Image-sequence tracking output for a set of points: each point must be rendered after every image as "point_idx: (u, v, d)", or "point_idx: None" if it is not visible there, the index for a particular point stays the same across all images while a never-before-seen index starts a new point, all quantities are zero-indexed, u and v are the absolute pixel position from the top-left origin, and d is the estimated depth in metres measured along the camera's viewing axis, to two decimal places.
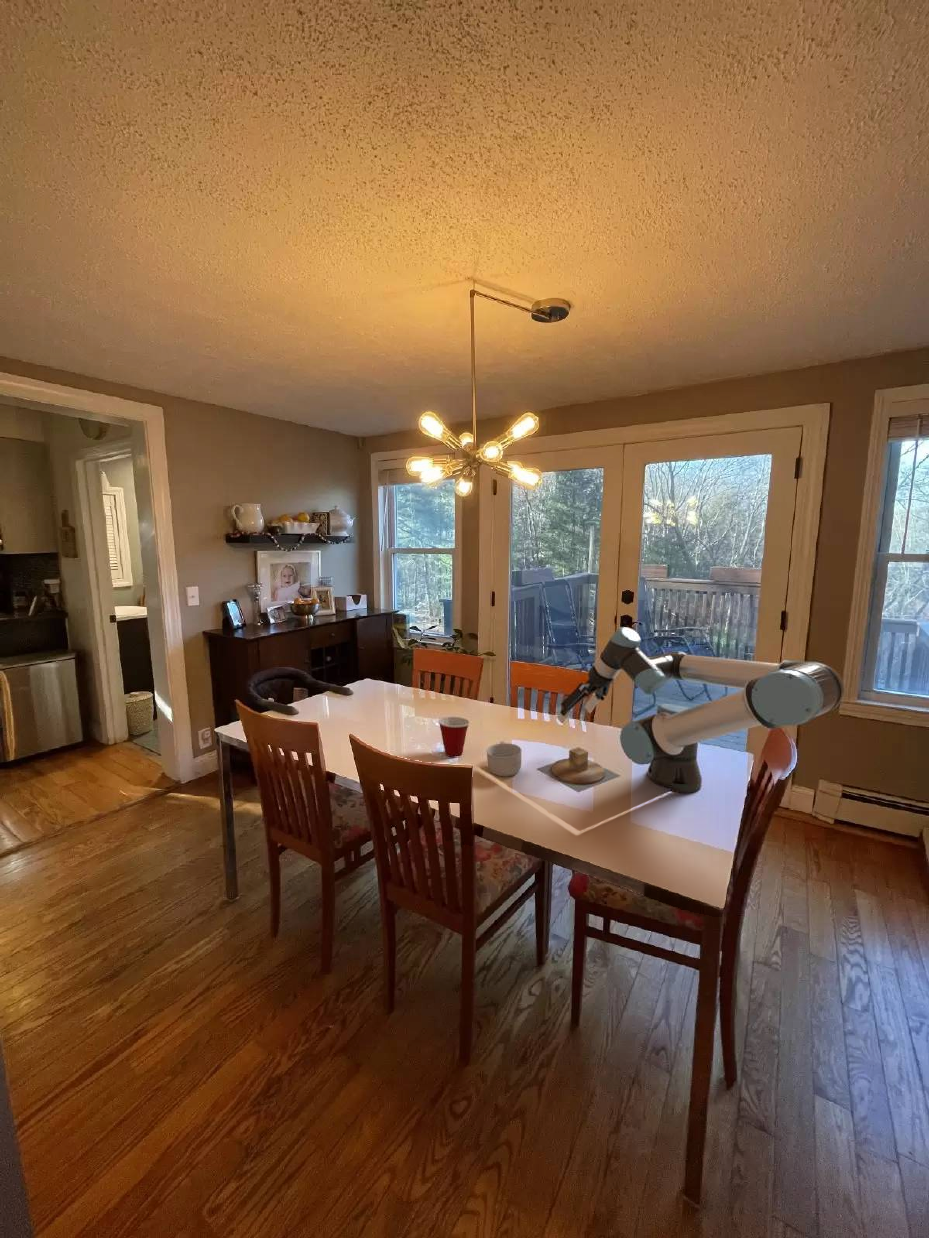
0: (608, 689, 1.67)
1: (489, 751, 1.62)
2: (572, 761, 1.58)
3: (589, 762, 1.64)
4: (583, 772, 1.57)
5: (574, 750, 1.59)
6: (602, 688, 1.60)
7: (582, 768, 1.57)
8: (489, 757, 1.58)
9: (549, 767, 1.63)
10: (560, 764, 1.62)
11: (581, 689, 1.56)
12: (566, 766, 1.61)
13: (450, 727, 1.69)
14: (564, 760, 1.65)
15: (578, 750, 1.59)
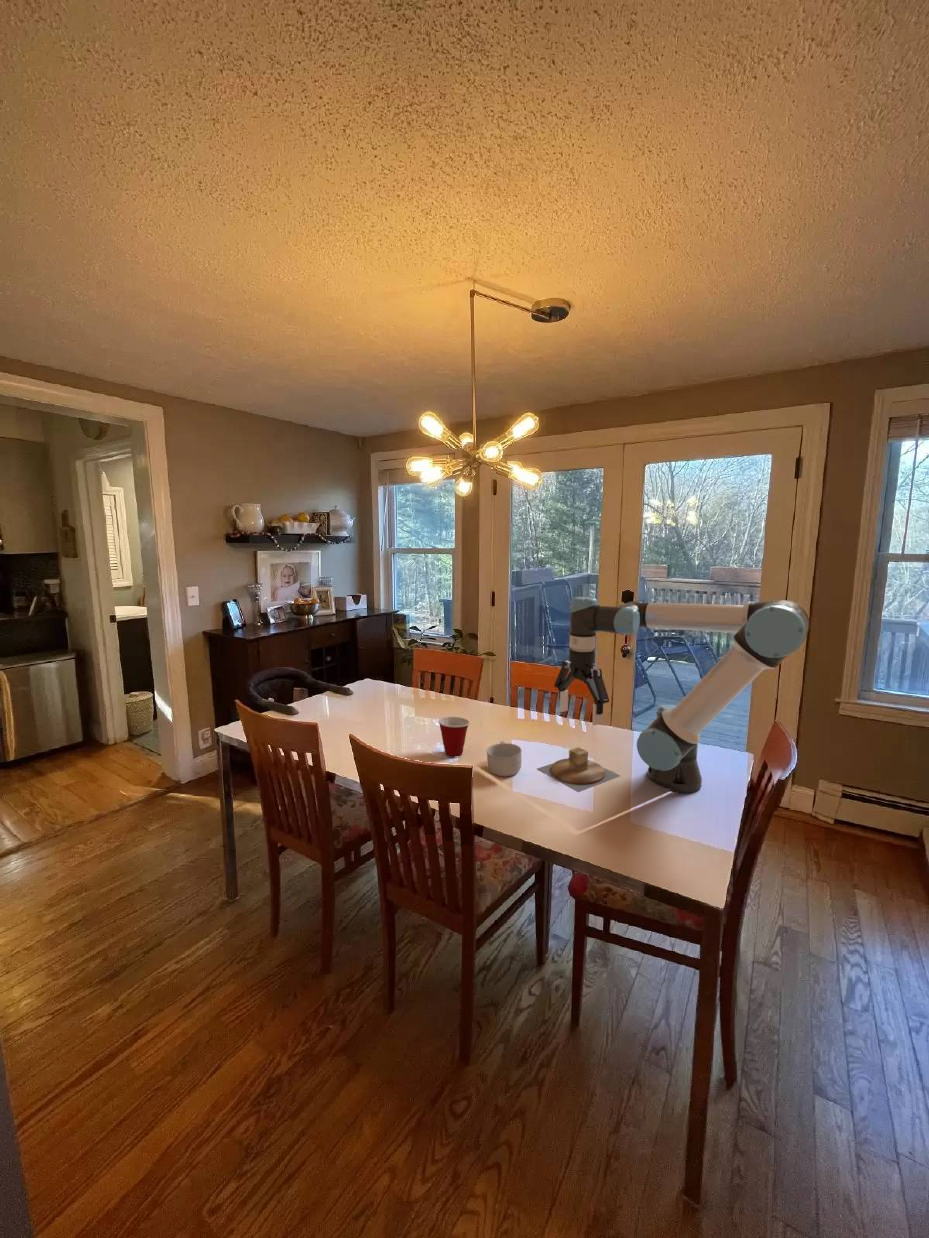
0: None
1: (489, 751, 1.62)
2: (572, 761, 1.58)
3: (589, 762, 1.64)
4: (583, 772, 1.57)
5: (574, 750, 1.59)
6: None
7: (582, 768, 1.57)
8: (489, 757, 1.58)
9: (549, 767, 1.63)
10: (560, 764, 1.62)
11: (599, 673, 1.49)
12: (566, 766, 1.61)
13: (450, 727, 1.69)
14: (564, 760, 1.65)
15: (578, 750, 1.59)
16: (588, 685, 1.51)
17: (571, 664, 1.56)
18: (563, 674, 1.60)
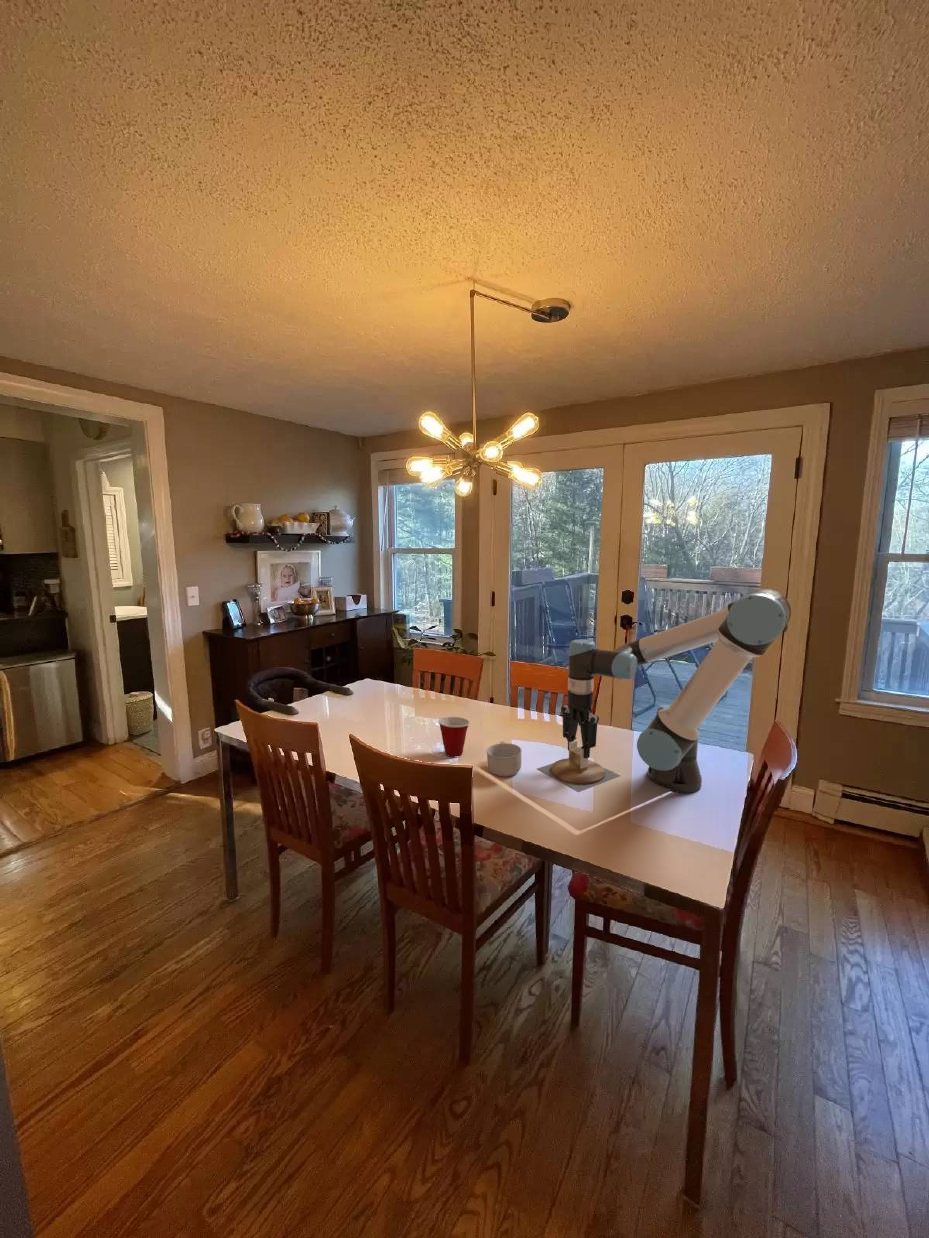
0: None
1: (489, 751, 1.62)
2: (572, 761, 1.58)
3: (589, 762, 1.64)
4: (583, 772, 1.57)
5: (574, 750, 1.59)
6: None
7: (582, 768, 1.57)
8: (489, 757, 1.58)
9: (549, 767, 1.63)
10: (560, 764, 1.62)
11: (596, 721, 1.52)
12: (566, 766, 1.61)
13: (450, 727, 1.69)
14: (564, 760, 1.65)
15: (578, 750, 1.59)
16: (581, 728, 1.55)
17: (569, 705, 1.58)
18: (567, 720, 1.60)
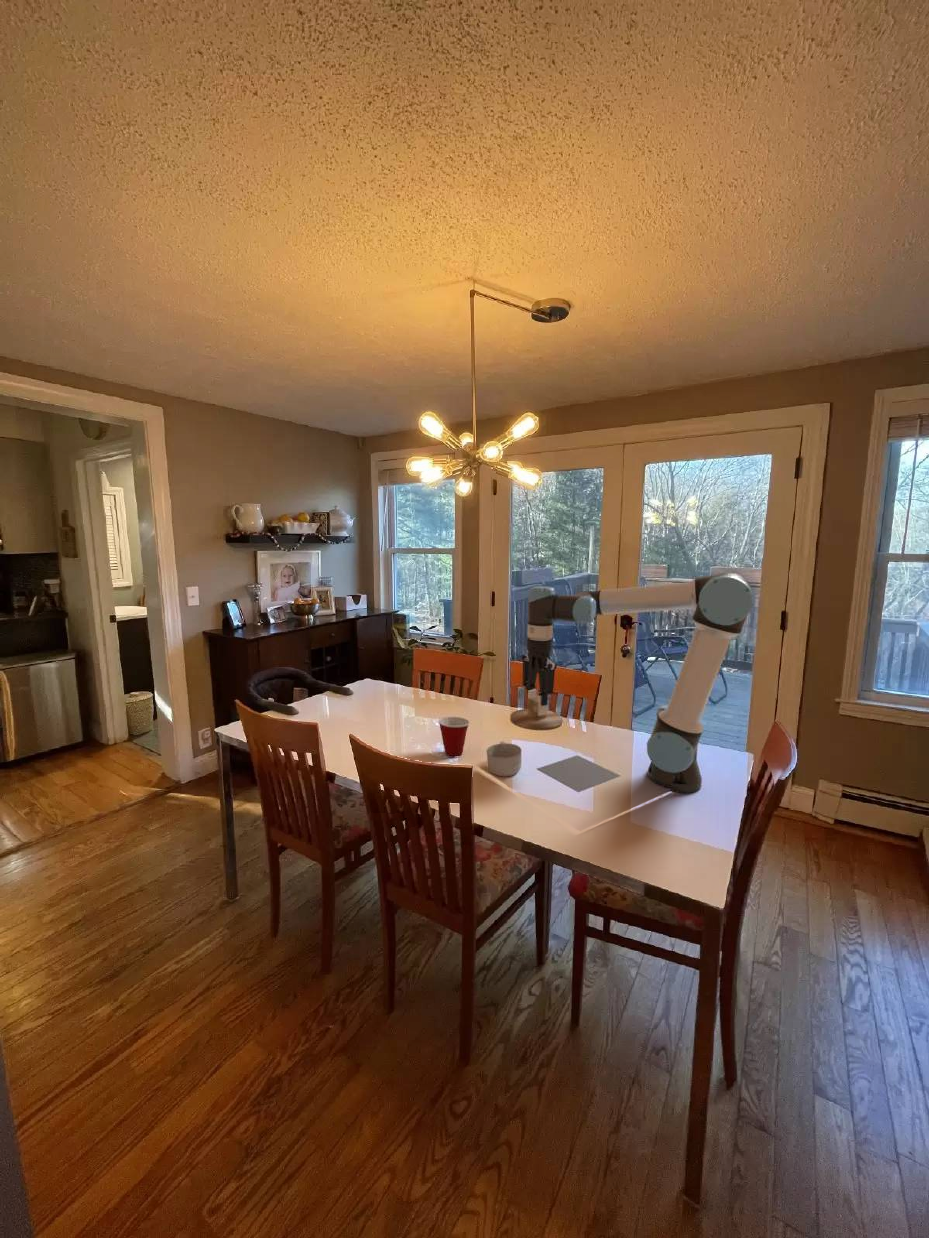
0: None
1: (489, 751, 1.62)
2: (530, 709, 1.58)
3: (549, 712, 1.64)
4: (541, 720, 1.57)
5: (533, 698, 1.58)
6: None
7: (540, 716, 1.57)
8: (489, 757, 1.58)
9: (549, 767, 1.63)
10: (519, 713, 1.62)
11: (553, 668, 1.51)
12: (525, 714, 1.61)
13: (450, 727, 1.69)
14: (524, 710, 1.65)
15: (537, 698, 1.58)
16: (539, 675, 1.54)
17: (529, 653, 1.58)
18: (526, 669, 1.60)
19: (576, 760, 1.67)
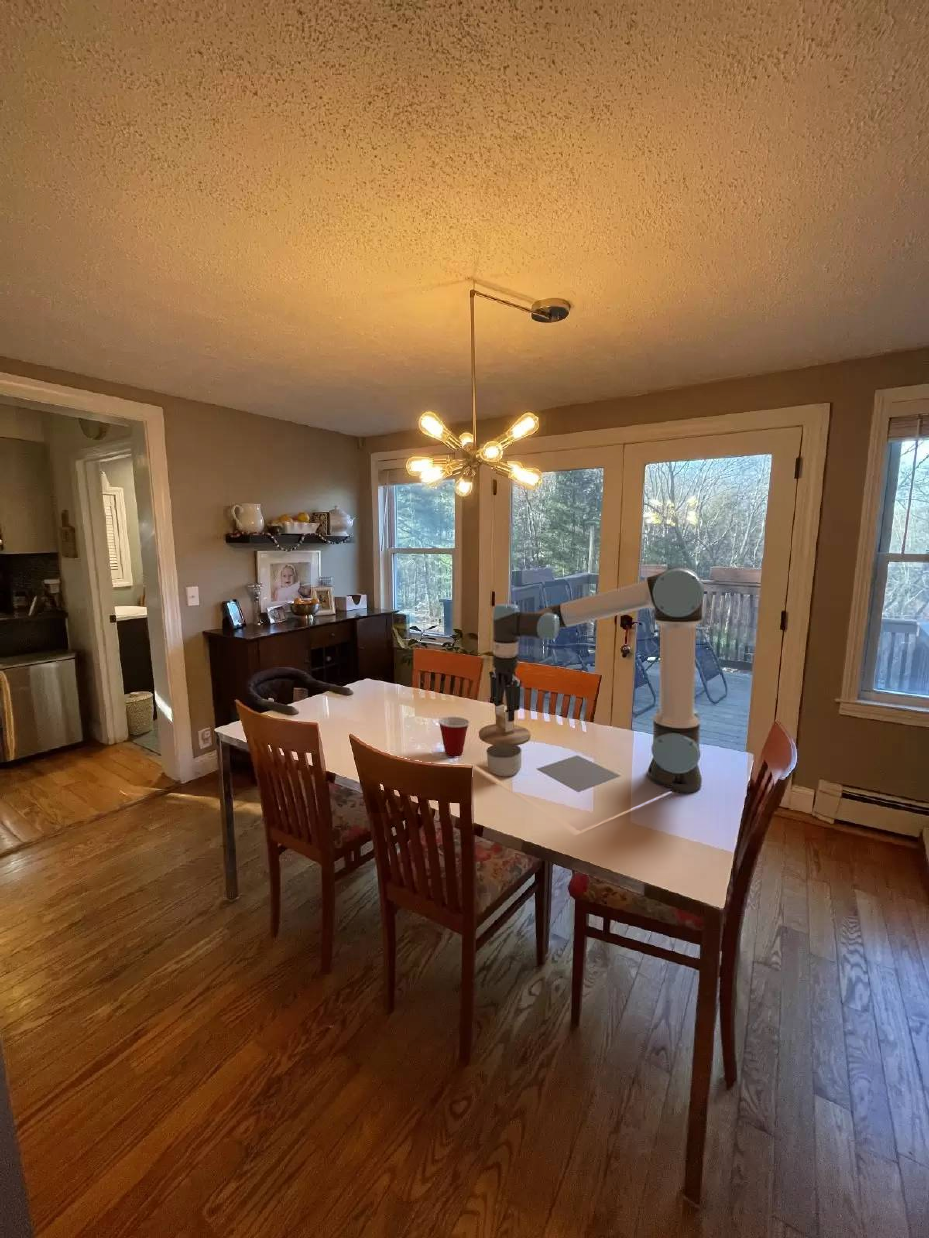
0: None
1: (489, 751, 1.62)
2: (498, 725, 1.59)
3: (517, 727, 1.65)
4: (508, 735, 1.58)
5: (500, 714, 1.60)
6: None
7: (508, 732, 1.59)
8: (489, 757, 1.58)
9: (549, 767, 1.63)
10: (488, 729, 1.64)
11: (519, 684, 1.53)
12: (493, 730, 1.63)
13: (450, 727, 1.69)
14: (493, 725, 1.67)
15: (504, 713, 1.60)
16: (506, 691, 1.56)
17: (495, 669, 1.60)
18: (494, 685, 1.62)
19: (576, 760, 1.67)
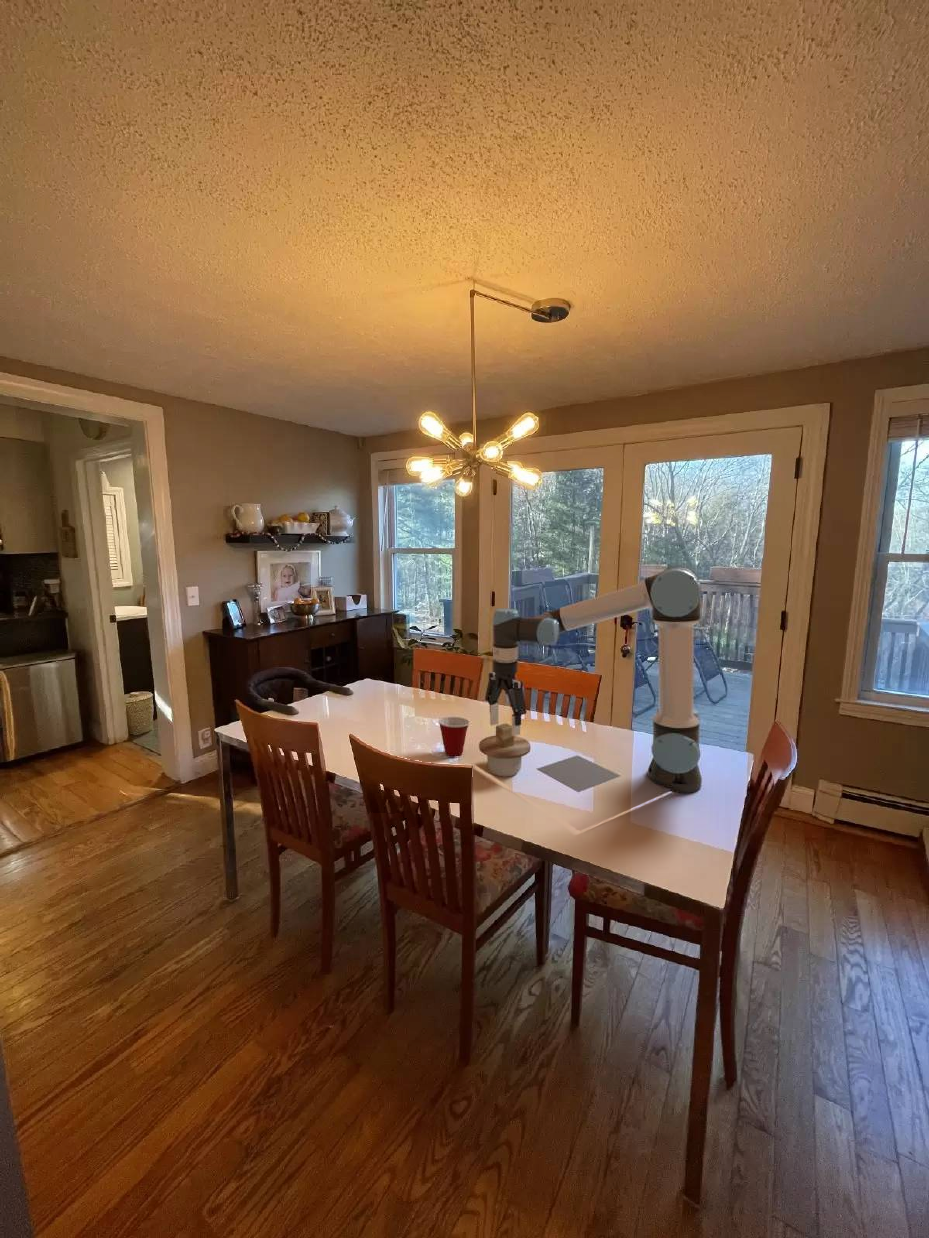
0: None
1: None
2: (498, 737, 1.60)
3: (518, 738, 1.66)
4: (509, 747, 1.59)
5: (500, 726, 1.60)
6: None
7: (508, 744, 1.59)
8: (489, 757, 1.58)
9: (549, 767, 1.63)
10: (488, 740, 1.64)
11: (520, 686, 1.53)
12: (494, 742, 1.63)
13: (450, 727, 1.69)
14: (494, 736, 1.67)
15: (504, 725, 1.60)
16: (509, 696, 1.55)
17: (496, 674, 1.60)
18: (491, 686, 1.63)
19: (576, 760, 1.67)
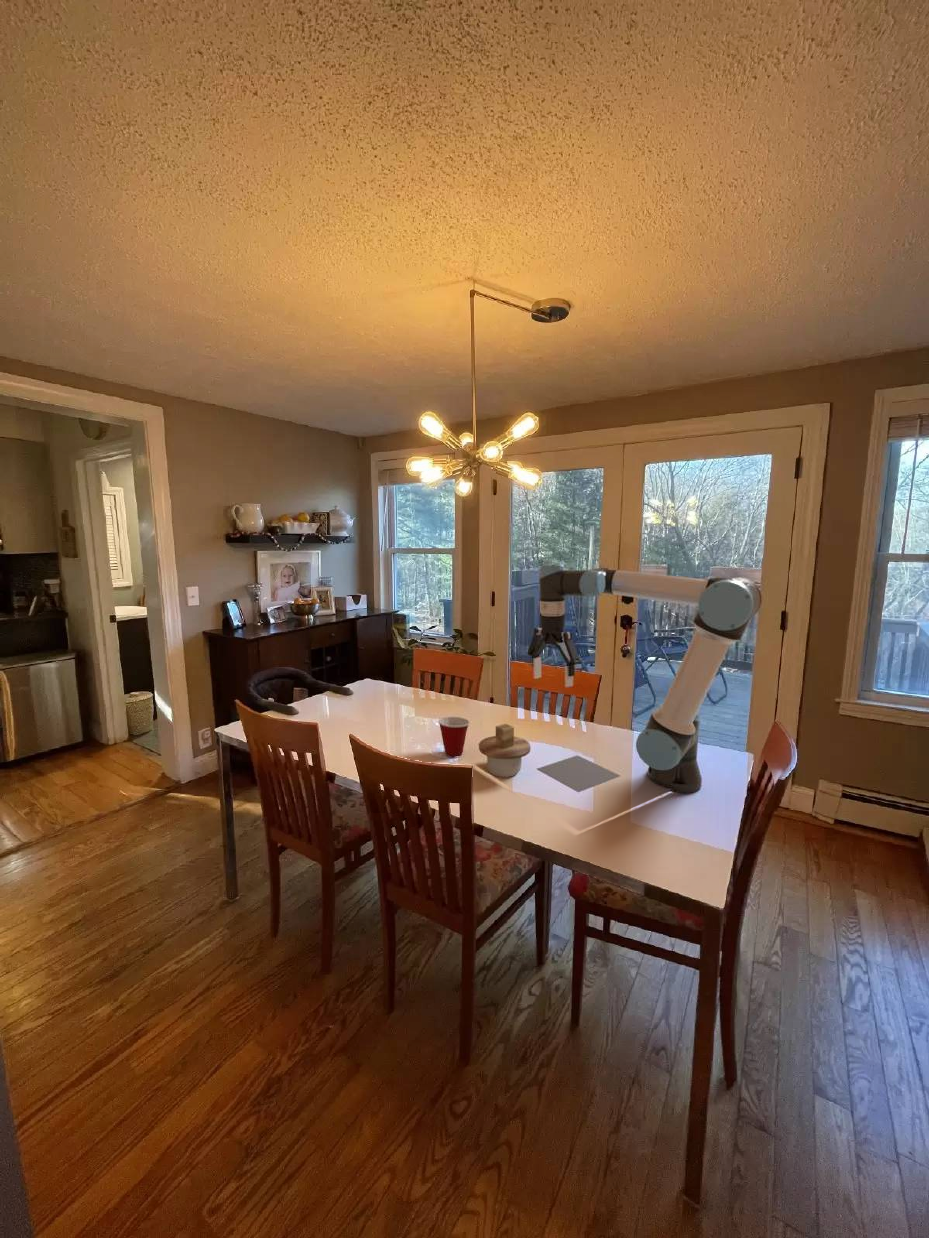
0: None
1: None
2: (498, 737, 1.59)
3: (517, 739, 1.65)
4: (509, 748, 1.58)
5: (500, 726, 1.60)
6: None
7: (508, 744, 1.59)
8: (489, 758, 1.57)
9: (549, 767, 1.63)
10: (488, 741, 1.64)
11: (570, 636, 1.53)
12: (493, 742, 1.62)
13: (450, 727, 1.69)
14: (493, 737, 1.67)
15: (504, 726, 1.60)
16: (559, 648, 1.55)
17: (542, 630, 1.61)
18: (535, 641, 1.64)
19: (576, 760, 1.67)
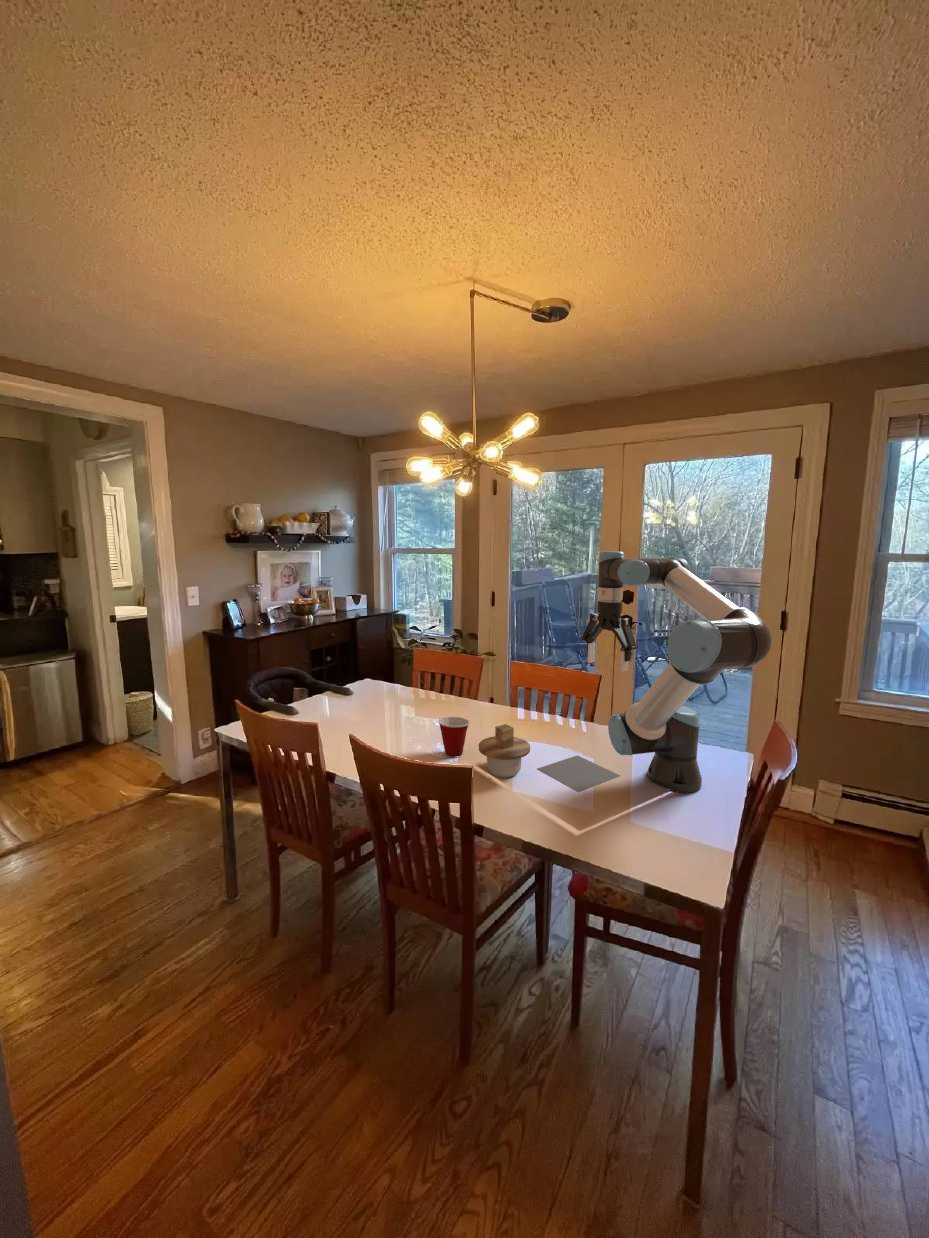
0: None
1: None
2: (498, 738, 1.59)
3: (517, 739, 1.65)
4: (508, 748, 1.58)
5: (500, 727, 1.59)
6: None
7: (508, 745, 1.58)
8: (489, 758, 1.57)
9: (549, 767, 1.63)
10: (488, 741, 1.63)
11: (627, 622, 1.57)
12: (493, 743, 1.62)
13: (450, 727, 1.69)
14: (493, 737, 1.66)
15: (504, 726, 1.60)
16: (616, 634, 1.59)
17: (599, 616, 1.65)
18: (591, 626, 1.69)
19: (576, 760, 1.67)
